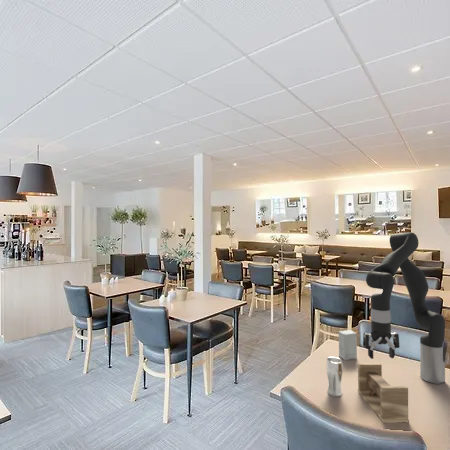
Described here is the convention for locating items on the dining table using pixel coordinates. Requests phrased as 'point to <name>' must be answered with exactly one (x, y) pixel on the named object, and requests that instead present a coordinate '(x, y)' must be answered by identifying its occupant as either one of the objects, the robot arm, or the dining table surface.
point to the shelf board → (376, 382)
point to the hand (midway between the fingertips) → (381, 357)
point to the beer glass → (334, 375)
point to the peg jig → (383, 396)
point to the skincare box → (347, 344)
